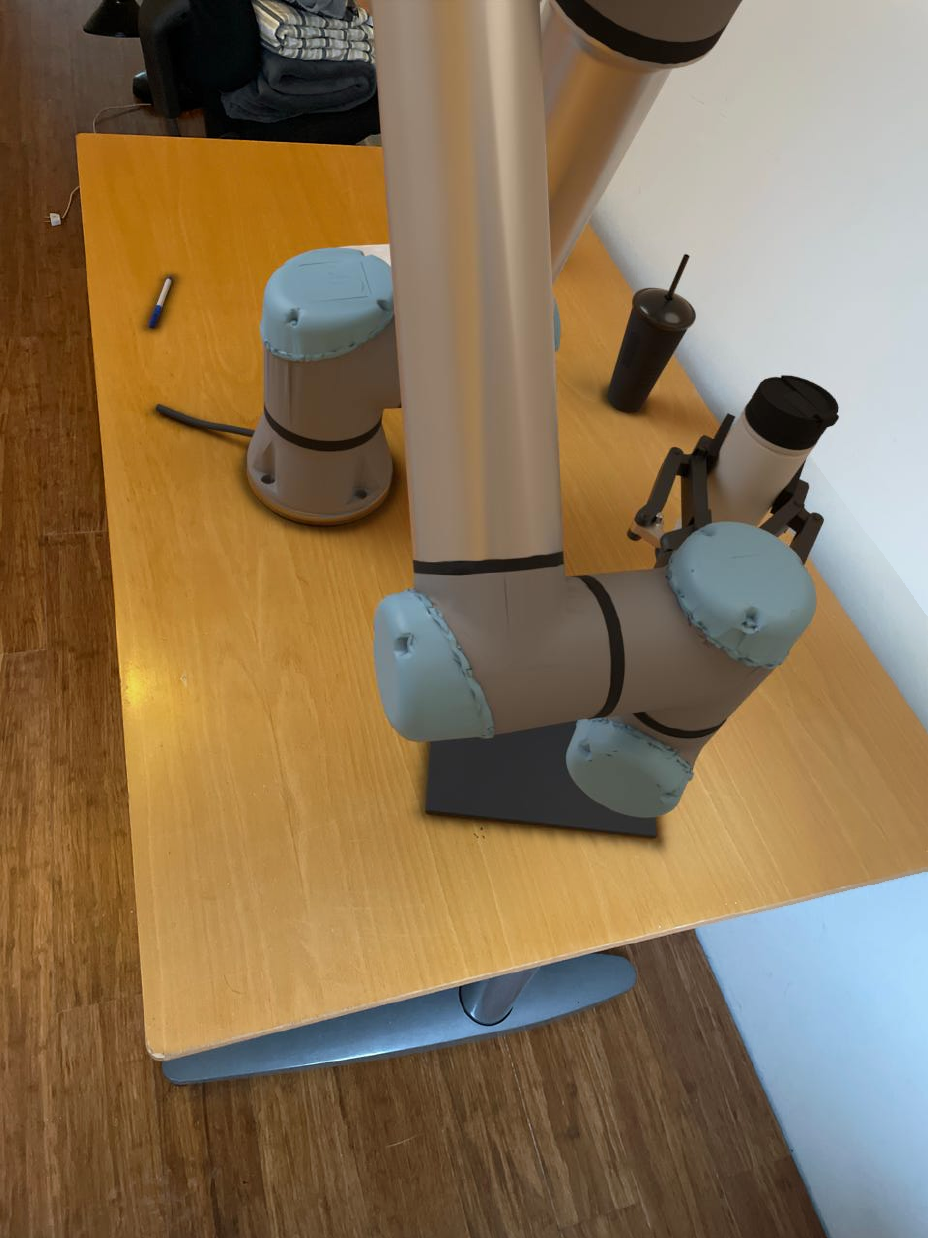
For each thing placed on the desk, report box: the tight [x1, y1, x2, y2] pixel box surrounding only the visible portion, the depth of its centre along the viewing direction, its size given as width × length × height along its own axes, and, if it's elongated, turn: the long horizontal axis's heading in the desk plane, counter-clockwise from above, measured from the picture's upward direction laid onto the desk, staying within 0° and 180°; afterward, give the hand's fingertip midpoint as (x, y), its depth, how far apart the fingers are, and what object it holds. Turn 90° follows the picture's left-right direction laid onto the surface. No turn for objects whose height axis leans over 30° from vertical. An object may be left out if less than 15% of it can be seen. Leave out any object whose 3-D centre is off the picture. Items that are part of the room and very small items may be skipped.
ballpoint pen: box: [148, 275, 173, 329], centre depth 99 cm, size 10×1×1 cm, turn 1°
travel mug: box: [671, 374, 840, 531], centre depth 70 cm, size 6×7×20 cm
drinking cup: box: [606, 253, 697, 413], centre depth 97 cm, size 8×8×20 cm
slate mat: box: [424, 720, 658, 839], centre depth 73 cm, size 20×16×1 cm
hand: (760, 443), depth 72 cm, fingers closed on travel mug, 6 cm apart
